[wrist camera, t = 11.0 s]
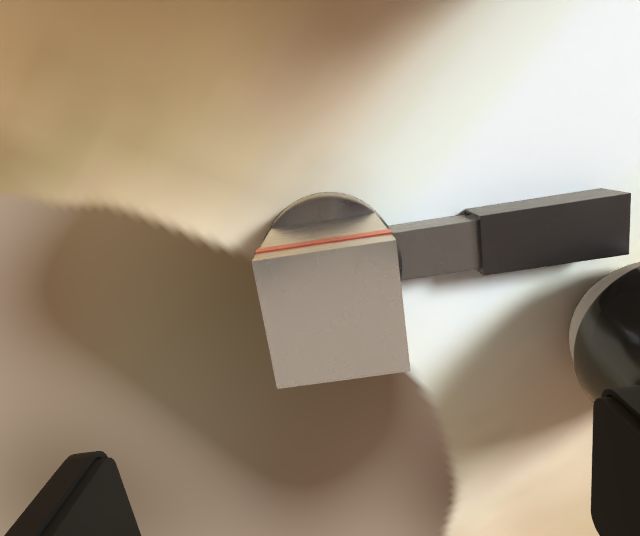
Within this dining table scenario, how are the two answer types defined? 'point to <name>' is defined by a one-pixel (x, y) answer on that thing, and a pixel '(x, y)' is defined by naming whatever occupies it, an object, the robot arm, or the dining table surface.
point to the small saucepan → (493, 232)
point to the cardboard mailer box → (332, 300)
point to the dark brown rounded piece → (608, 333)
